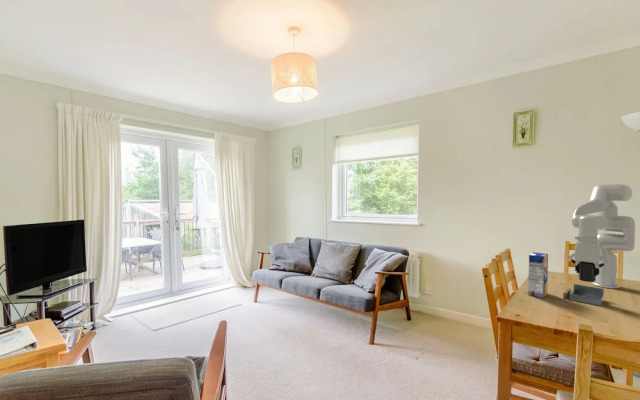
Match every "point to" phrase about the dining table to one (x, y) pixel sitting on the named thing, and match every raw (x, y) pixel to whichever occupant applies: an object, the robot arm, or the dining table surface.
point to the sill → (566, 293)
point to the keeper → (587, 294)
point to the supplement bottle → (587, 271)
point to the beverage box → (538, 274)
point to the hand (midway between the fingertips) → (587, 273)
